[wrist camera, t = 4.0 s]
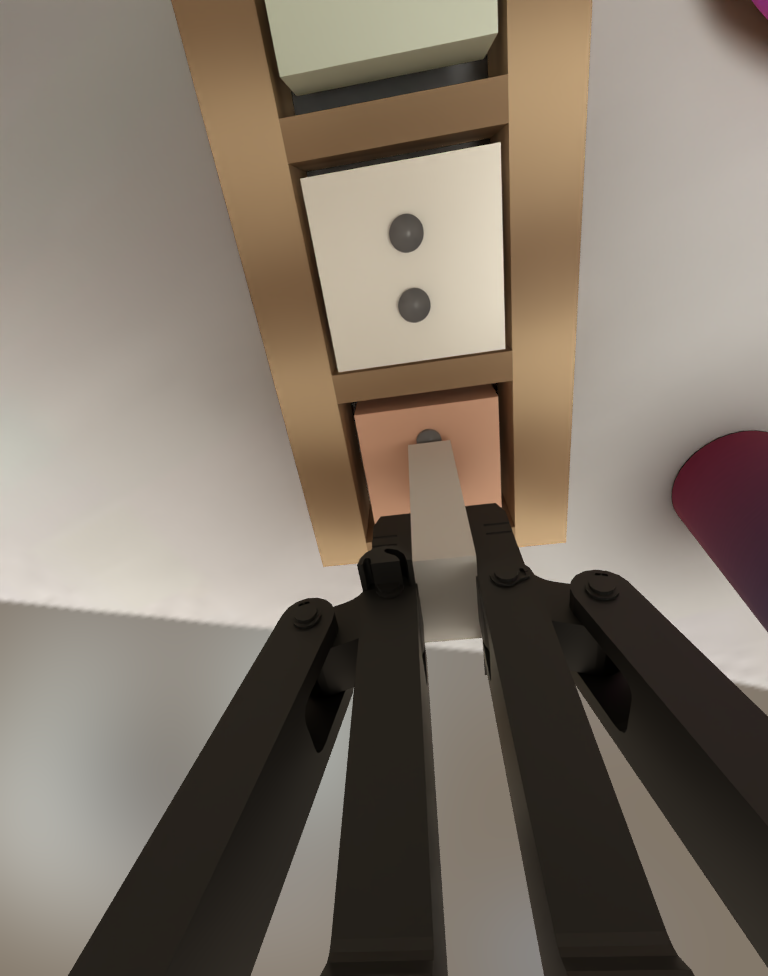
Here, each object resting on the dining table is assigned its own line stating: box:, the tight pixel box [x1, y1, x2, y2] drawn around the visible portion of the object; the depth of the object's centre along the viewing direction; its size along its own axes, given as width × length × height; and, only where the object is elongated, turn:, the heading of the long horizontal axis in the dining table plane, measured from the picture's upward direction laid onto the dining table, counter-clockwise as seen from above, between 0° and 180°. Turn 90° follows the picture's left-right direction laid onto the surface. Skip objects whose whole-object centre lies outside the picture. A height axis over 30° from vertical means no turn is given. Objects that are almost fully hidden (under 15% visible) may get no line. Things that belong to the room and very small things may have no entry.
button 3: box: [354, 384, 502, 524], centre depth 19 cm, size 5×5×2 cm
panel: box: [171, 0, 592, 567], centre depth 16 cm, size 22×10×3 cm, turn 9°
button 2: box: [300, 142, 505, 372], centre depth 14 cm, size 5×5×2 cm
